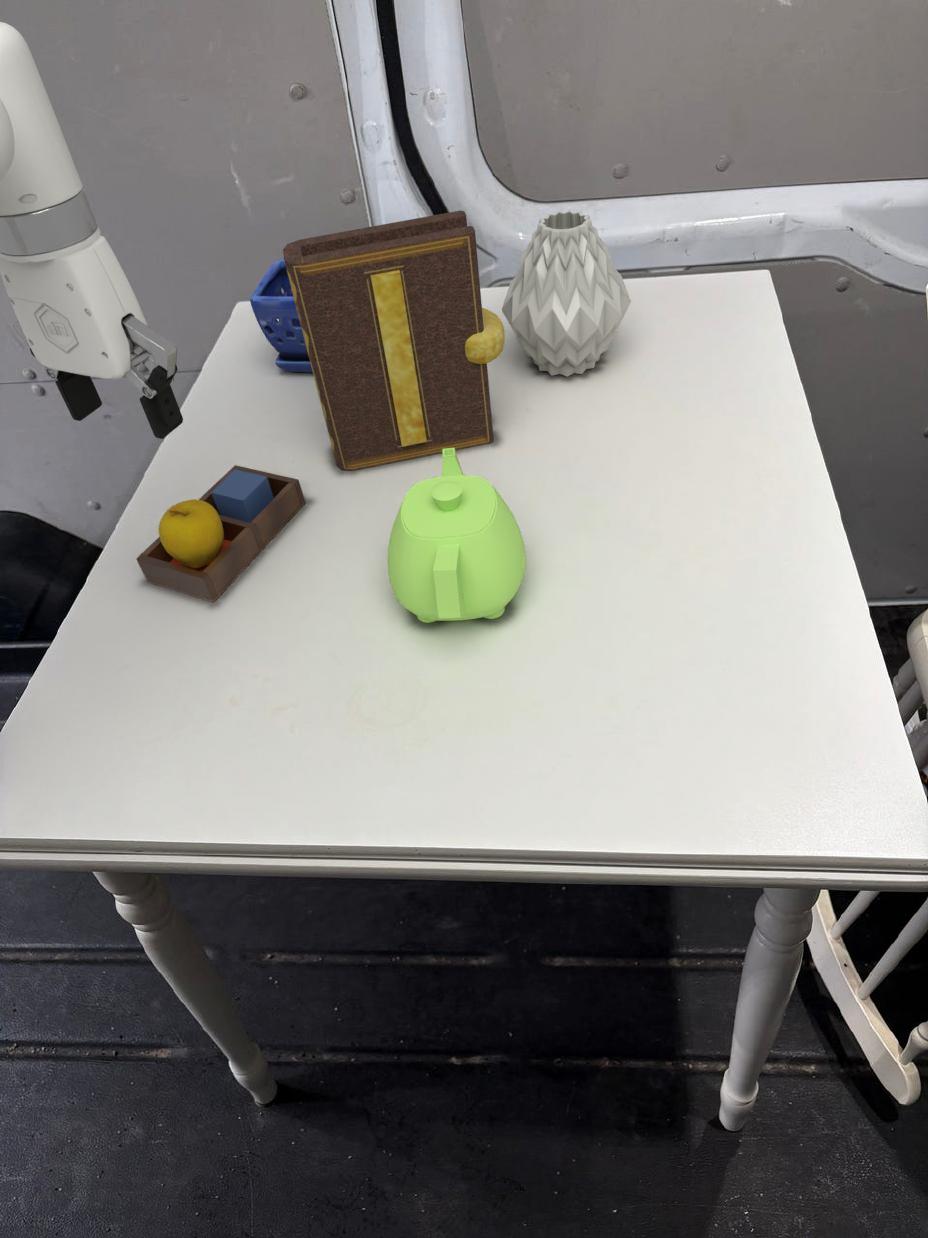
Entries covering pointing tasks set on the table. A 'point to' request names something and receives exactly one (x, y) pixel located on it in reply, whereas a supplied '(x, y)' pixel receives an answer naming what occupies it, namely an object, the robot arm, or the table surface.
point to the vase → (566, 295)
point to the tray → (226, 543)
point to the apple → (192, 533)
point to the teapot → (455, 548)
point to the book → (397, 338)
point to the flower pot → (280, 319)
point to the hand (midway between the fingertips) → (128, 421)
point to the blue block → (242, 495)
